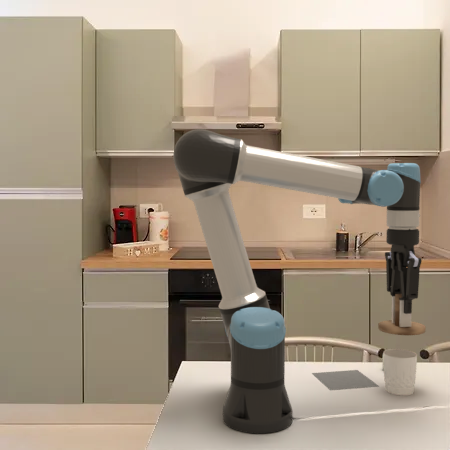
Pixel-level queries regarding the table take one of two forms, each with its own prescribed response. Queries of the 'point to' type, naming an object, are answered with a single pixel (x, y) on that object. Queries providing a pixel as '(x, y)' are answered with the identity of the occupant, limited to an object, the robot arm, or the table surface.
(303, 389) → the table surface
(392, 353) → the white cup
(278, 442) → the table surface
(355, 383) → the mat
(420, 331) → the walnut lid
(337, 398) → the table surface
